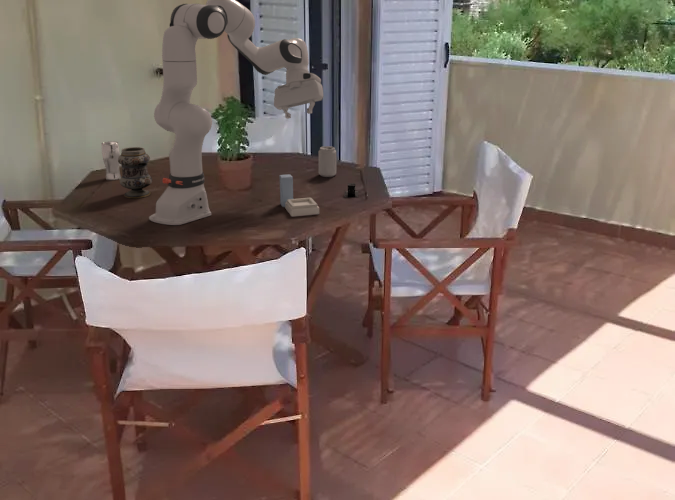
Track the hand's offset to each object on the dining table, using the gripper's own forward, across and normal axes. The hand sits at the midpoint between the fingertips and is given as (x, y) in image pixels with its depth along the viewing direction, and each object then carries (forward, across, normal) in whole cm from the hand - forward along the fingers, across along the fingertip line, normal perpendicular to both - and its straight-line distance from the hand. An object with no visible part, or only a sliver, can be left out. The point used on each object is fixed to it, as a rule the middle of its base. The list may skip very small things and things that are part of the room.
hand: (298, 115), depth 281 cm
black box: (+29, +12, +19) cm, 37 cm away
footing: (+39, +4, -7) cm, 40 cm away
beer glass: (+13, -85, -9) cm, 86 cm away
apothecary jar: (+26, -61, -21) cm, 70 cm away
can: (+14, -8, +36) cm, 40 cm away
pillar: (+35, -4, -4) cm, 35 cm away
